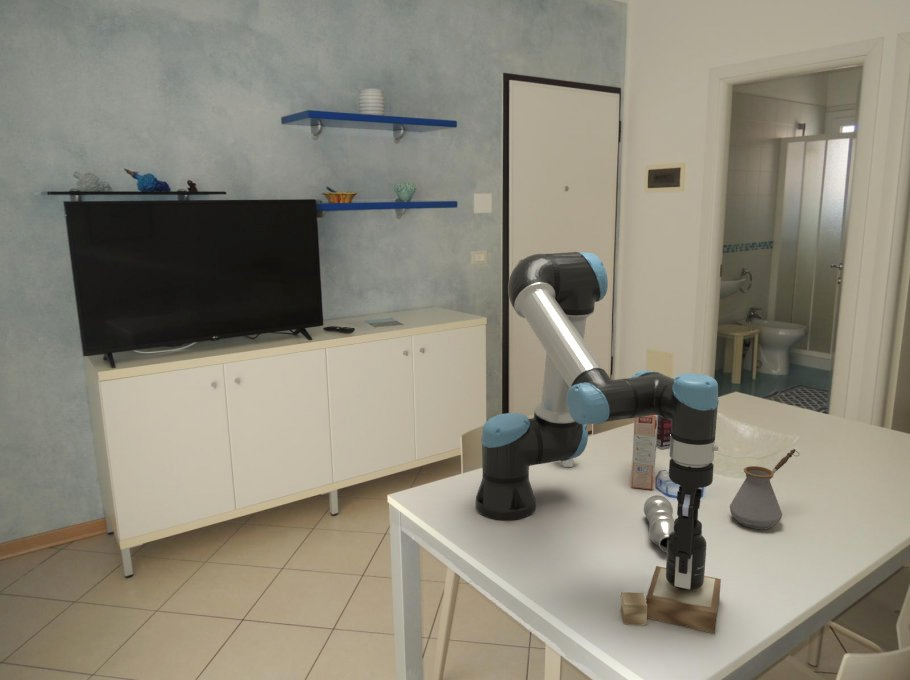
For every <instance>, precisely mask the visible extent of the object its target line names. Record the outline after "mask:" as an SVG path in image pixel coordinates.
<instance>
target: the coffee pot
mask: <svg viewBox="0 0 910 680" xmlns="http://www.w3.org/2000/svg"><path fill="white" fill-rule="evenodd" d="M795 452H796V453H797V454H798V455H797V457H799V456H800V452H799V451H797V450H796V449H794V448H793V449H791V450H790V451H789V452H787V454H786V455H785V456H784V457H782V458H781V459H780V460H779V462H777V464H776V465H775V466H774V468H773V469H772V470H771V469H769V468H767V467H764V466H755V465H752V466H751V465H749V466H746V467H744V468H743V473H745V477H746V478H745V479H744V481H743V482H742V484H741V486H740V487H739V489H738V490H737V492H736V494H735V496H734V498H733V500H732V501H731V502H730V504H729V511H730V513H731V515H732V516H733V517H734V519H735V520H737V522H738V523H740V524H741V525H742V526H744V527H747V528H750V529H753V530H754V529H755V530H766V529H767V530H768V529H770V528H772V527H773V526H775V525H777V524H778V523H780V521H781V520H782V517H783V512H782V509H781V506H780V505H779V501H778V499H777V496H776V493H775V491H774V488H773V486H772V482H771V479H772V478H774V475H775V473H776V472H778V470H780V468H782V467H784V465H785V464H786V463H787V462H788V461H789V459H790V458H793V456H794V457H796V455H795Z"/></svg>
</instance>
